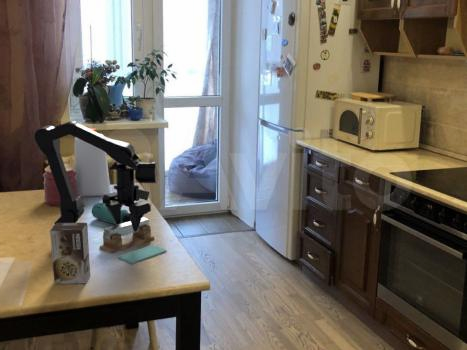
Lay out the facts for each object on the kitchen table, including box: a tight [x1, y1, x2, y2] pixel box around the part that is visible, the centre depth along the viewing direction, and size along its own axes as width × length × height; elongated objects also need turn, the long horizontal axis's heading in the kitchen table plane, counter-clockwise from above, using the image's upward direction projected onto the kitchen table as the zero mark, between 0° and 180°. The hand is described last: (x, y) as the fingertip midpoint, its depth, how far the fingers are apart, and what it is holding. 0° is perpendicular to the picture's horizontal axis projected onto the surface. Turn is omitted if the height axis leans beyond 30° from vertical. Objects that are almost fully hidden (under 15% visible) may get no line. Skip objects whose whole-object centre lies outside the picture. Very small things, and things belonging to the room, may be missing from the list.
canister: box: [42, 163, 78, 207], centre depth 230 cm, size 13×13×18 cm
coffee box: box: [49, 222, 91, 285], centre depth 158 cm, size 9×6×16 cm
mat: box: [117, 244, 168, 265], centre depth 179 cm, size 14×7×1 cm, turn 138°
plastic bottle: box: [73, 127, 111, 198], centre depth 243 cm, size 15×15×28 cm
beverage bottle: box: [91, 201, 131, 225], centre depth 207 cm, size 6×7×20 cm
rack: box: [99, 224, 155, 254], centre depth 187 cm, size 18×6×5 cm, turn 138°
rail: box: [103, 216, 150, 240], centre depth 186 cm, size 16×3×3 cm, turn 138°
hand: (126, 228), depth 186 cm, fingers open, 9 cm apart
